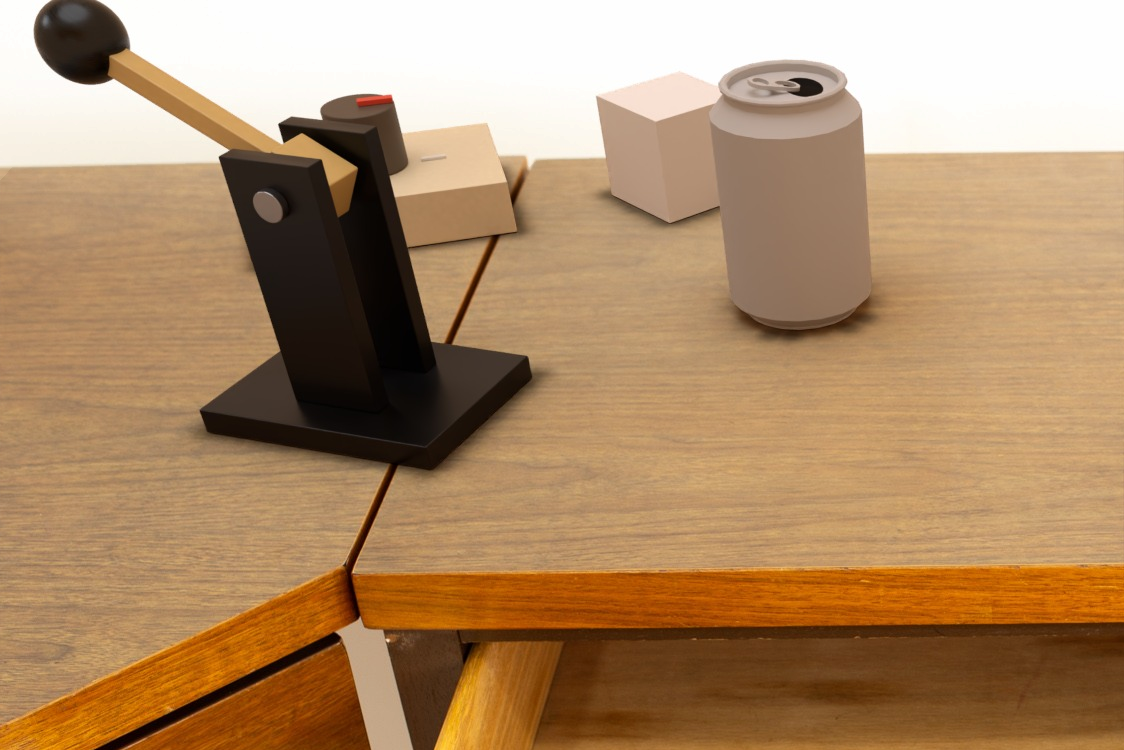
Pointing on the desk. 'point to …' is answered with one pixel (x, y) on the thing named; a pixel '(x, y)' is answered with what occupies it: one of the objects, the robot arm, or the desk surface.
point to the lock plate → (452, 186)
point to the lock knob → (372, 122)
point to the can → (792, 193)
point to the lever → (161, 85)
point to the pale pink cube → (661, 145)
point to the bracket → (347, 316)
